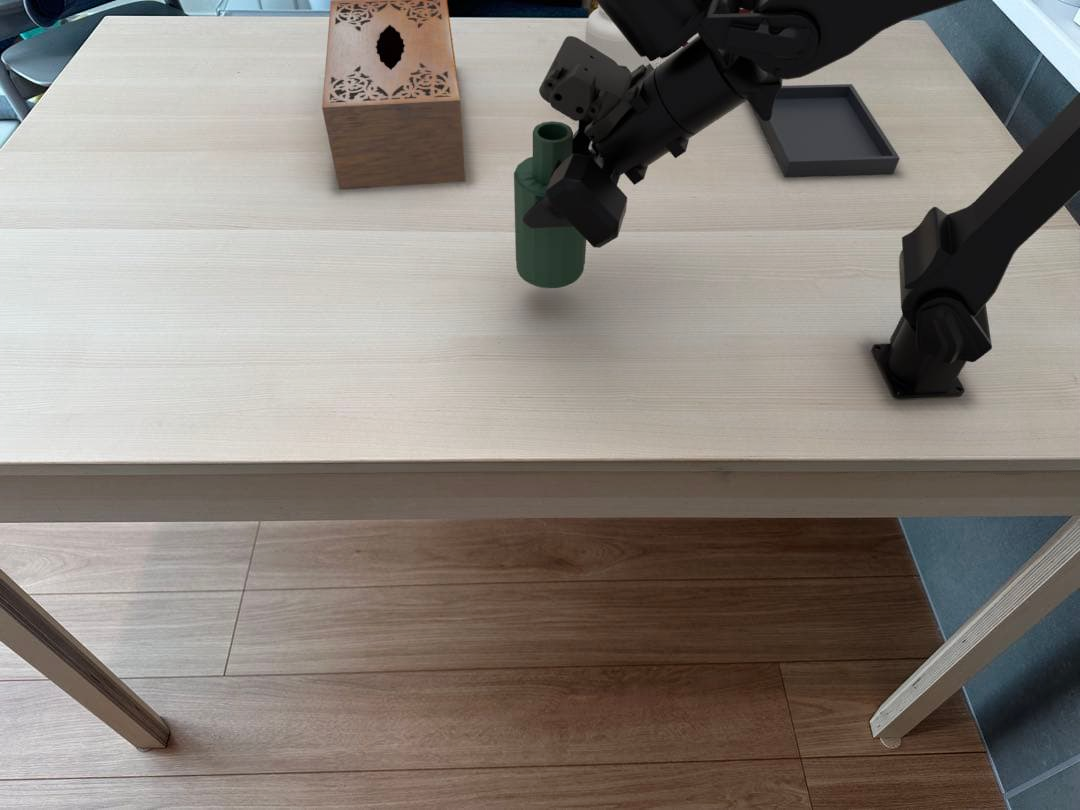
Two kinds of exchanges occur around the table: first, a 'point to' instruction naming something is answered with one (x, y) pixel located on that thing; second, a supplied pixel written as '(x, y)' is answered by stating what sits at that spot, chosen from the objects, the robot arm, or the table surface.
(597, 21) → the pill bottle
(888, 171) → the tray
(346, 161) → the tissue box cover
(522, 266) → the bottle
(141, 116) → the table surface
